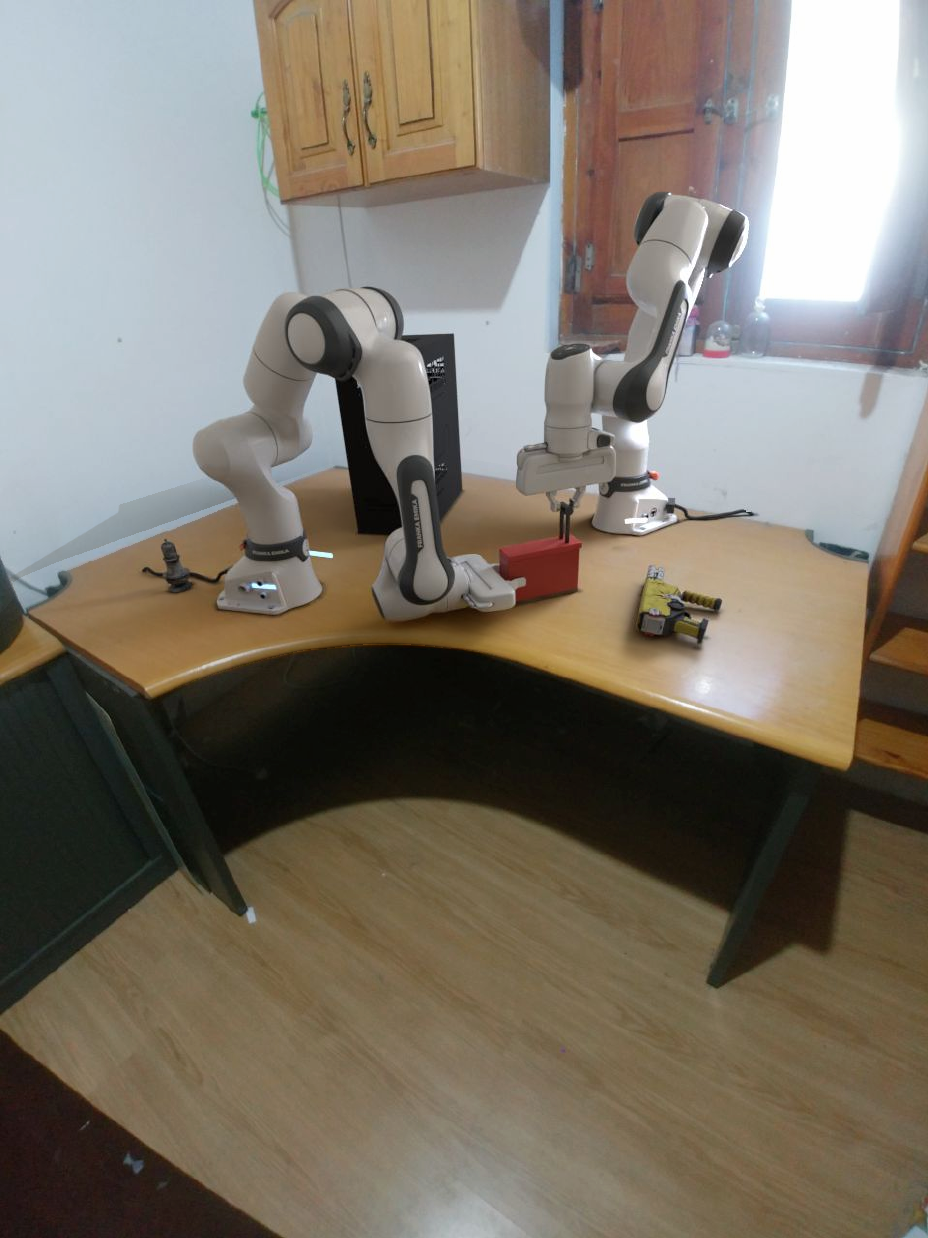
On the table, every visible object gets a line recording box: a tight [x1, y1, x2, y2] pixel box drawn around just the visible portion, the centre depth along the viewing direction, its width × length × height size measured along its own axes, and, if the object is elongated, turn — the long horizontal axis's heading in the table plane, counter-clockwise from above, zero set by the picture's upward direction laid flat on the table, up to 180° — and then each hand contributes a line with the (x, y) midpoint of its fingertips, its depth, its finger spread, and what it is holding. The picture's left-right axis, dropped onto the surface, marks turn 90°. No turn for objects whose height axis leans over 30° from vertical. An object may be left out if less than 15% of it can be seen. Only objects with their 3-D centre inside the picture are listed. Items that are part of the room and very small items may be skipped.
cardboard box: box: [334, 332, 463, 535], centre depth 165 cm, size 38×20×45 cm, turn 167°
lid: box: [498, 501, 583, 563], centre depth 121 cm, size 16×5×9 cm, turn 110°
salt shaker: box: [160, 538, 194, 593], centre depth 136 cm, size 6×6×12 cm
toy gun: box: [635, 564, 723, 645], centre depth 117 cm, size 5×24×15 cm
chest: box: [498, 548, 581, 606], centre depth 125 cm, size 16×5×10 cm, turn 110°
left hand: (517, 574), depth 124 cm, fingers closed on chest, 5 cm apart
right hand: (564, 509), depth 121 cm, fingers open, 3 cm apart
